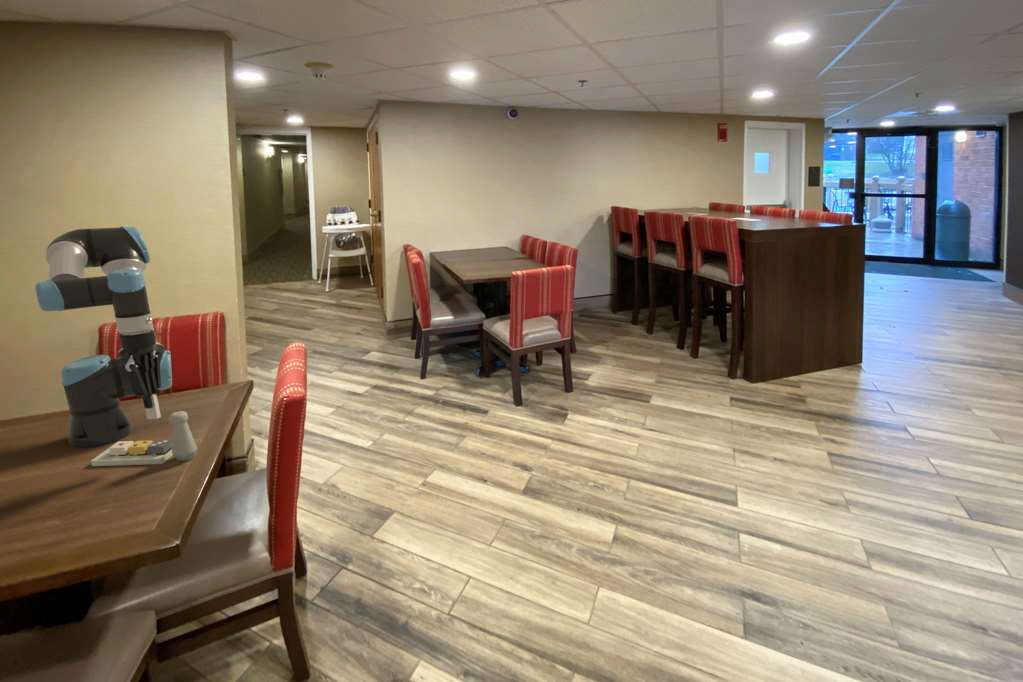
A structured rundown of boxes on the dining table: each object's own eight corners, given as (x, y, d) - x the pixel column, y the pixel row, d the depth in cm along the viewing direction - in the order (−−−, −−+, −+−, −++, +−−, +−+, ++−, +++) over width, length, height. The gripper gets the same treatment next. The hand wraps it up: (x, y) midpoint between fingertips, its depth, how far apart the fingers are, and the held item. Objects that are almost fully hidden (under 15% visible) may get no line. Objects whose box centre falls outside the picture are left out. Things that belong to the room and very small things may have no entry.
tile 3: (148, 453, 149) (147, 446, 149) (157, 446, 153) (155, 439, 153) (164, 453, 149) (162, 446, 149) (172, 446, 153) (170, 439, 153)
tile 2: (129, 454, 149) (128, 447, 149) (138, 447, 153) (137, 440, 152) (145, 453, 149) (143, 446, 149) (153, 447, 153) (152, 439, 153)
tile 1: (110, 455, 149) (108, 447, 148) (119, 448, 153) (118, 441, 152) (125, 454, 149) (124, 447, 149) (134, 447, 153) (133, 440, 152)
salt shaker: (187, 464, 147) (178, 418, 144) (168, 462, 148) (159, 416, 145) (203, 453, 153) (195, 409, 149) (184, 452, 154) (176, 408, 150)
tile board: (91, 466, 147) (90, 461, 147) (113, 450, 156) (112, 445, 155) (162, 463, 148) (161, 458, 147) (180, 448, 156) (179, 443, 156)
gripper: (136, 337, 136) (154, 427, 142) (165, 324, 149) (181, 408, 155) (104, 338, 136) (124, 428, 142) (136, 325, 148) (153, 409, 155)
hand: (154, 417), depth 148 cm, fingers closed
